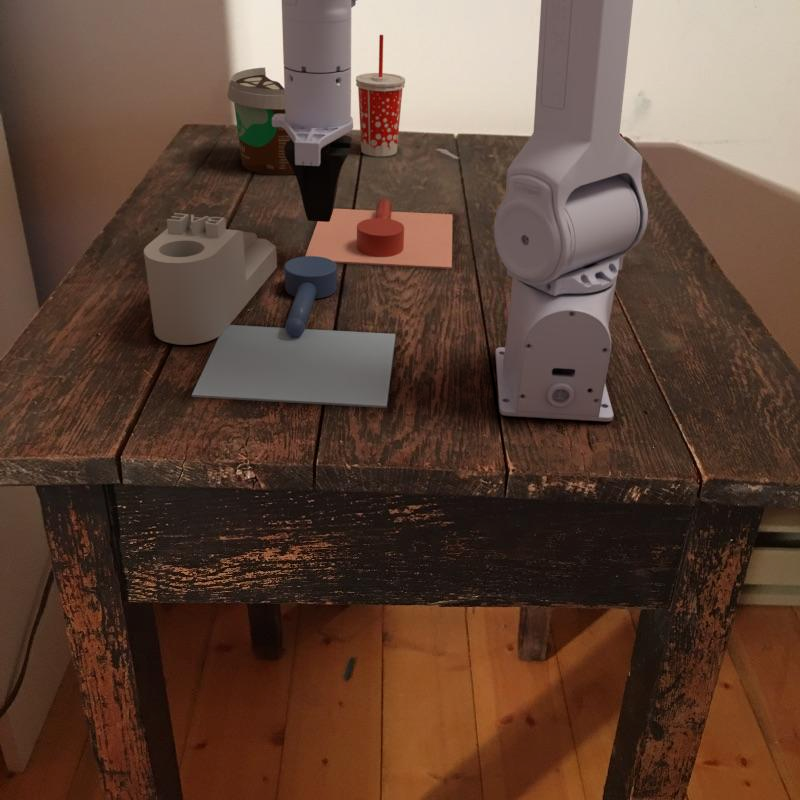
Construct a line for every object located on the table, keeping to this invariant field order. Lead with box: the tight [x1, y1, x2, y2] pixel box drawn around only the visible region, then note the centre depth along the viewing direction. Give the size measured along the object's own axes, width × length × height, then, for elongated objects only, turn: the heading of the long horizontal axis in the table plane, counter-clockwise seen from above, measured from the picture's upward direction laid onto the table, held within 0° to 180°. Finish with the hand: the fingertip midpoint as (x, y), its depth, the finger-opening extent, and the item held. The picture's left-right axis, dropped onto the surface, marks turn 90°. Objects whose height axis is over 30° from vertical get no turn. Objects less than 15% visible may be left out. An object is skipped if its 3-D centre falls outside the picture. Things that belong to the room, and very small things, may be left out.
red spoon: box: [357, 198, 404, 257], centre depth 92 cm, size 12×5×2 cm, turn 178°
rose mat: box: [304, 208, 454, 270], centre depth 92 cm, size 14×14×1 cm
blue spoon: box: [283, 255, 338, 337], centre depth 78 cm, size 12×5×2 cm, turn 177°
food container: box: [227, 67, 295, 176], centre depth 108 cm, size 12×6×10 cm, turn 25°
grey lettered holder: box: [143, 212, 278, 346], centre depth 77 cm, size 6×18×8 cm, turn 168°
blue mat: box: [191, 324, 397, 409], centre depth 70 cm, size 11×14×1 cm
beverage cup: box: [355, 34, 406, 157], centre depth 113 cm, size 6×6×14 cm
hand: (319, 218), depth 85 cm, fingers closed
